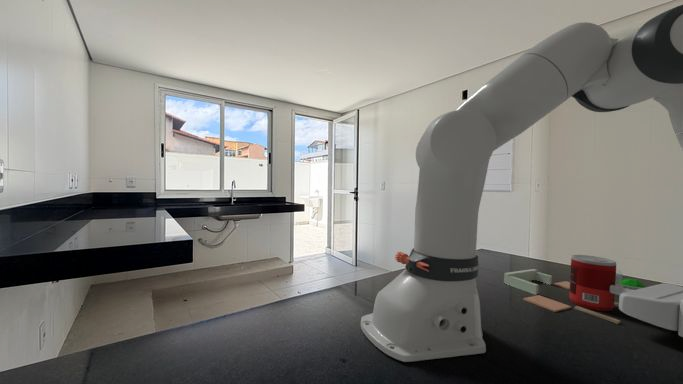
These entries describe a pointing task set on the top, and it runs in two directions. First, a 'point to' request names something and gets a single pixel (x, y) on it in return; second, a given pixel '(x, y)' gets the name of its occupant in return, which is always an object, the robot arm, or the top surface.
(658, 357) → the top surface
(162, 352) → the top surface
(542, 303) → the tiles
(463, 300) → the robot arm
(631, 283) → the polyhedron
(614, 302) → the lane kerbs
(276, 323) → the top surface
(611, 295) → the canned food
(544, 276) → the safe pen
